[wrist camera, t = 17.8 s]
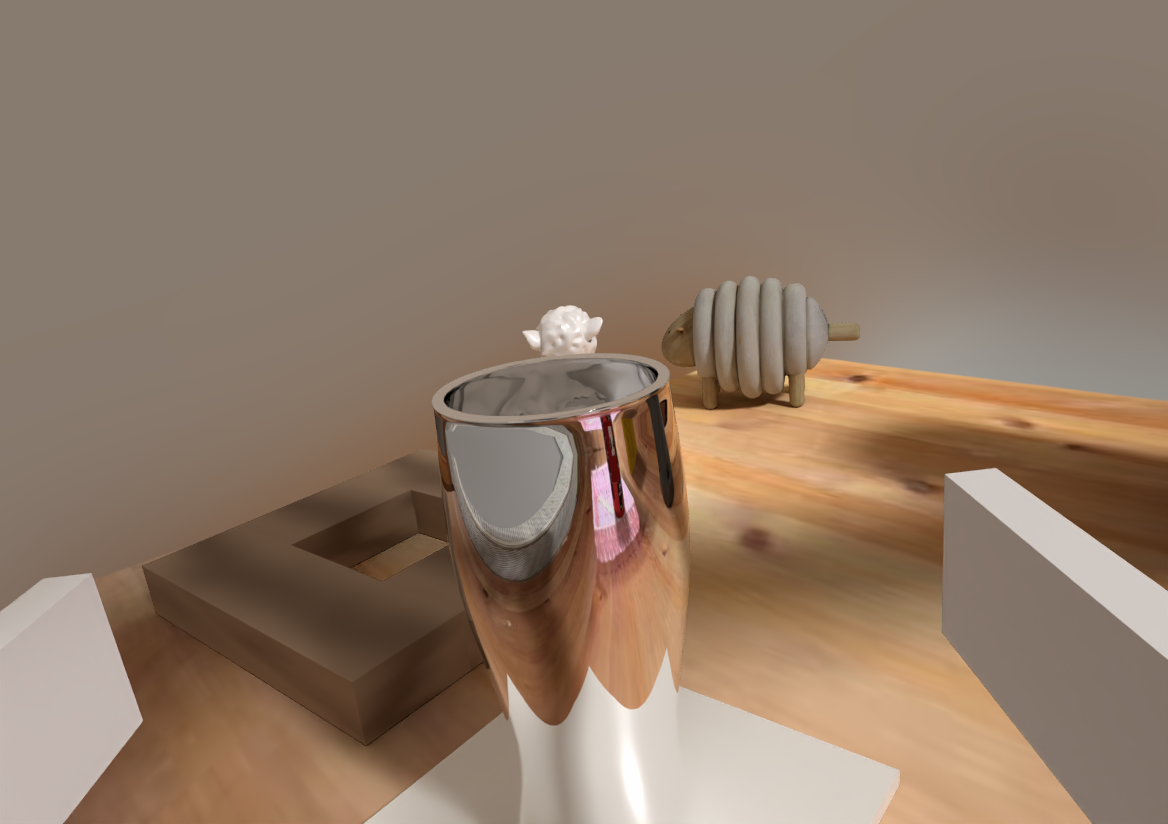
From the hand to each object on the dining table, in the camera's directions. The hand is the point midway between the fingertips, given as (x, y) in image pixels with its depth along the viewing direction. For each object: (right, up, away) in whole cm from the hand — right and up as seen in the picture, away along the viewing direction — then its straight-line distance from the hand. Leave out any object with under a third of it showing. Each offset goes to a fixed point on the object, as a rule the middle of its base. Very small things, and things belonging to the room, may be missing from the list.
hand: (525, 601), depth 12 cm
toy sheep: (+16, +4, +58) cm, 60 cm away
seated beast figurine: (+1, -1, +49) cm, 49 cm away
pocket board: (-9, -7, +33) cm, 35 cm away
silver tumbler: (+2, -11, +14) cm, 17 cm away
